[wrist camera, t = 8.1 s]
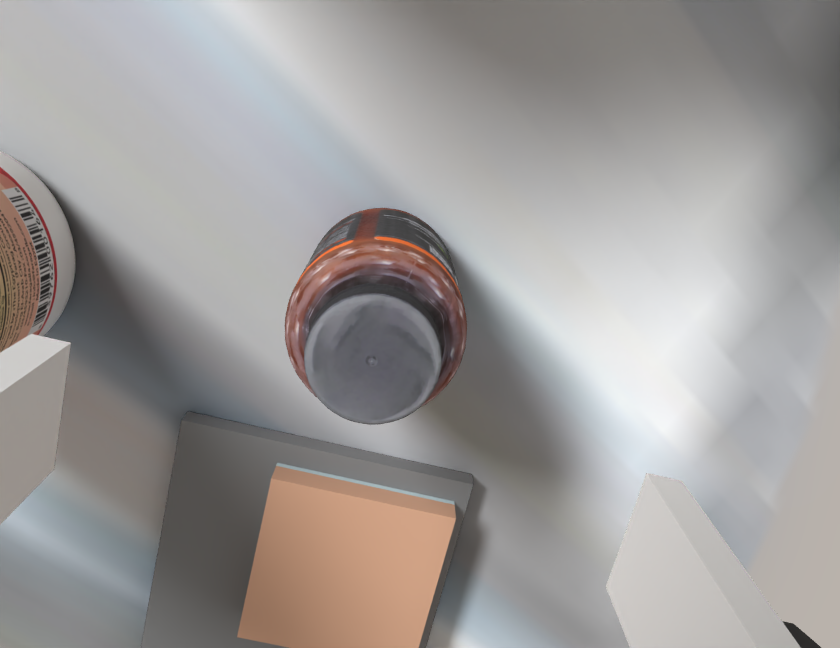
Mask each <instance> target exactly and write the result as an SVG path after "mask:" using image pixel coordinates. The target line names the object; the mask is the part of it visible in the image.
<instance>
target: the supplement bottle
mask: <svg viewBox="0 0 840 648" xmlns="http://www.w3.org/2000/svg"><path fill="white" fill-rule="evenodd" d="M466 334H467V321H466V313H465V308H464V304H463V299H462V296H461V292H460V289H459V285H458V282H457V278H456V275H455V271H454V268H453V265H452V261H451V258H450V256H449V253H448V250H447V249H446V247H445V245H444V244H443V242H442V240H441V239H440V238H439V236H438V235H437V233H435V231H434V230H433V229H432V228H431V227H430V226H429V225H427V224H426V223H425V222H423V221H422V220H420V219H419V218H417V217H416V216H413V215H411V214H409V213H407V212H404V211H400V210H396V209H388V208H374V209H368V210H363V211H359V212H356V213H354V214H351V215H349V216H348V217H346V218H345V219H343V220H341V221H340V222H339V223H337V224H336V225H335V226H334V227H333V228H332V229H330V230H329V231H328V233H327V234H326V235H325V236H324V237H323V239H322V240H321V242H320V243H319V244H318V246H317V248H316V250H315V251H314V253H313V255H312V257H311V259H310V261H309V263H308V264H307V266H306V268H305V270H304V271H303V273H302V275H301V277H300V279H299V280H298V282H297V284H296V286H295V288H294V290H293V292H292V295H291V297H290V300H289V303H288V307H287V312H286V318H285V340H286V345H287V350H288V354H289V357H290V361H291V363H292V365H293V367H294V369H295V371H296V373H297V375H298V376H299V378H300V379H301V380H302V382H303V383H304V384H305V386H306V387H307V388H308V389H309V390H310V391H311V392H312V393H313V394H314V395H315V397H318V399H319V400H320V401H321V402H322V403H323V404H324V405H325V406H326V407H327V408H328V409H330V410H331V411H332V412H334V413H335V414H337V415H339V416H341V417H342V418H345V419H347V420H350V421H353V422H358V423H363V424H384V423H389V422H393V421H396V420H399V419H402V418H404V417H406V416H408V415H410V414H411V413H413V412H414V411H416V410H417V409H418V408H420V407H421V406H423V405H426V404H427V403H428V402H429V401H431V400H432V399H434V398H435V397H436V396H437V395H438V394H439V393H440V392H441V391H442V390H443V389H444V388H445V387H446V386H447V384H448V383H449V382H450V381H451V379H452V378H453V376H454V375H455V373H456V371H457V369H458V367H459V365H460V363H461V360H462V356H463V353H464V350H465V343H466Z"/></svg>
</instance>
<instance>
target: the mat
mask: <svg viewBox="0 0 840 648" xmlns="http://www.w3.org/2000/svg"><path fill="white" fill-rule="evenodd" d="M277 463H281V464H286V465H290V466H295V467H299V468H304V469H308V470H313V471H318V472H322V473H327V474H331V475H336V476H340V477H345V478H350V479H354V480H359V481H363V482H368V483H372V484H377V485H381V486H386V487H391V488H395V489H400V490H404V491H409V492H413V493H418V494H423V495H427V496H432V497H436V498H441V499H445V500H450V501H454V504H455V514H456V520H455V524H454V527H453V531H452V534H451V538H450V541H449V545H448V548H447V551H446V555H445V558H444V562H443V565H442V569H441V572H440V576H439V579H438V582H437V586H436V589H435V593H434V596H433V600H432V603H431V607H430V610H429V613H428V617H427V620H426V624H425V627H424V631H423V634H422V638H421V641H420V644H419V648H426V645H427V641H428V638H429V634H430V631H431V628H432V624H433V621H434V617H435V614H436V611H437V607H438V604H439V600H440V597H441V593H442V590H443V587H444V583H445V580H446V576H447V573H448V570H449V566H450V563H451V559H452V556H453V553H454V549H455V546H456V542H457V539H458V535H459V532H460V529H461V525H462V522H463V518H464V515H465V512H466V508H467V505H468V501H469V498H470V495H471V491H472V488H473V479H472V474H468V473H464V472H459V471H455V470H450V469H446V468H441V467H437V466H432V465H428V464H423V463H419V462H414V461H410V460H405V459H401V458H396V457H392V456H387V455H383V454H378V453H374V452H369V451H365V450H360V449H356V448H351V447H347V446H342V445H338V444H333V443H329V442H324V441H320V440H315V439H311V438H306V437H302V436H297V435H293V434H288V433H284V432H279V431H275V430H270V429H266V428H261V427H257V426H252V425H248V424H243V423H239V422H234V421H230V420H225V419H221V418H216V417H212V416H207V415H203V414H198V413H193V412H189V411H188V412H187V413H186V414H185V416H184V417H183V418H182V420H181V425H180V431H179V436H178V442H177V447H176V453H175V459H174V464H173V470H172V475H171V481H170V487H169V492H168V498H167V503H166V509H165V515H164V520H163V526H162V531H161V537H160V543H159V548H158V554H157V559H156V565H155V571H154V576H153V582H152V587H151V593H150V599H149V604H148V610H147V615H146V621H145V627H144V632H143V638H142V643H141V648H289V647H284V646H279V645H274V644H269V643H264V642H259V641H254V640H249V639H244V638H239V637H237V635H238V630H239V626H240V621H241V616H242V612H243V607H244V603H245V598H246V593H247V589H248V584H249V579H250V575H251V570H252V566H253V561H254V556H255V552H256V547H257V543H258V538H259V533H260V529H261V524H262V519H263V515H264V510H265V506H266V501H267V496H268V492H269V487H270V482H271V478H272V475H273V473H274V470H275V467H276V465H277Z"/></svg>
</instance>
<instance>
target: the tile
mask: <svg viewBox="0 0 840 648" xmlns="http://www.w3.org/2000/svg"><path fill="white" fill-rule="evenodd" d="M455 520H456V514H455V504H454V501H450V500H445V499H441V498H436V497H432V496H427V495H423V494H418V493H413V492H409V491H404V490H400V489H395V488H391V487H386V486H381V485H377V484H372V483H368V482H363V481H359V480H354V479H350V478H345V477H340V476H336V475H331V474H327V473H322V472H318V471H313V470H308V469H304V468H299V467H295V466H290V465H286V464H281V463H277V465H276V467H275V470H274V473H273V475H272V478H271V482H270V487H269V492H268V496H267V501H266V506H265V510H264V515H263V519H262V524H261V529H260V533H259V538H258V543H257V547H256V552H255V556H254V561H253V566H252V570H251V575H250V579H249V584H248V589H247V593H246V598H245V603H244V607H243V612H242V616H241V621H240V626H239V630H238V635H237V637H239V638H244V639H249V640H254V641H259V642H264V643H269V644H274V645H279V646H284V647H289V648H419V644H420V641H421V638H422V634H423V631H424V627H425V624H426V620H427V617H428V613H429V610H430V607H431V603H432V600H433V596H434V593H435V589H436V586H437V582H438V579H439V576H440V572H441V569H442V565H443V562H444V558H445V555H446V551H447V548H448V545H449V541H450V538H451V534H452V531H453V527H454V524H455Z"/></svg>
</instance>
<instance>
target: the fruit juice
mask: <svg viewBox="0 0 840 648" xmlns="http://www.w3.org/2000/svg"><path fill="white" fill-rule="evenodd" d="M74 277H75V249H74V243H73V238H72V234H71V231H70V228H69V225H68V222H67V220H66V217H65V215H64V213H63V211H62V209H61V207H60V206H59V204H58V202H57V201H56V199H55V198H54V196H53V195H52V193H51V192H50V191H49V189H48V188H47V187H46V186H45V185H44V183H43V182H42V181H41V180H40V179H39V178H38V177H37V176H36V175H35V174H34V173H33V172H32V171H30V170H29V169H28V168H27V167H26V166H24V165H23V164H22V163H20V162H19V161H17V160H16V159H14V158H13V157H11V156H9V155H7V154H6V153H4V152H2V151H0V353H1V352H2V351H4V350H5V349H7V348H9V347H10V346H12V345H14V344H15V343H17V342H19V341H20V340H22V339H23V338H25V337H27V336H28V335H30V334H34V335H39V336H44V335H45V334H46V333H47V332H48V331H49V330H50V329H51V328H52V326H53V325H54V324H55V323H56V321H57V320H58V319H59V317H60V316H61V314H62V312H63V310H64V308H65V306H66V304H67V302H68V299H69V297H70V294H71V291H72V287H73V283H74Z"/></svg>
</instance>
